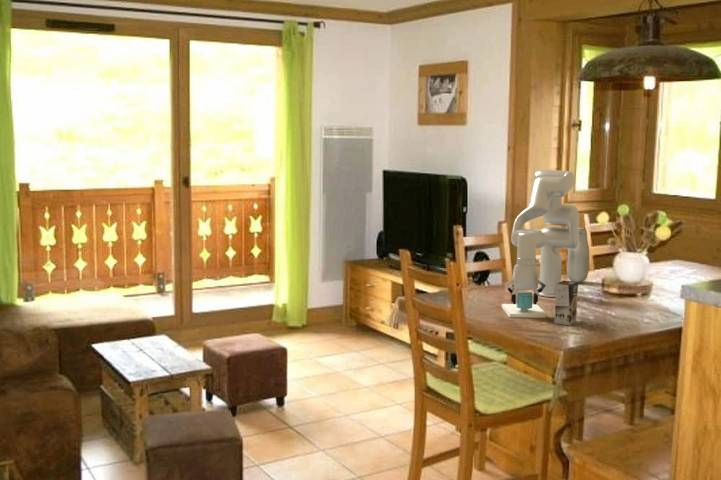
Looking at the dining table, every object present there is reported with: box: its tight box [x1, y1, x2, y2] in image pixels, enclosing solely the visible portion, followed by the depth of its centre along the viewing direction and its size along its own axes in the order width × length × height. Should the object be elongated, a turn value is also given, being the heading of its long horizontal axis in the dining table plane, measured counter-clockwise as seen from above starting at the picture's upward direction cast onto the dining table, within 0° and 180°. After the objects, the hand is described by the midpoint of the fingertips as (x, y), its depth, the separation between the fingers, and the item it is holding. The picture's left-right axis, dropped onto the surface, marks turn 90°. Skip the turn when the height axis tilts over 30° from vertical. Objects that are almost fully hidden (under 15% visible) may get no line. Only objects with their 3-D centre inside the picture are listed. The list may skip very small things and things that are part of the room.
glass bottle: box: [566, 226, 590, 284], centre depth 390 cm, size 10×10×28 cm
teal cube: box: [516, 291, 533, 309], centre depth 323 cm, size 6×6×6 cm
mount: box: [501, 303, 547, 319], centre depth 327 cm, size 15×18×8 cm
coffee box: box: [554, 280, 579, 326], centre depth 310 cm, size 9×6×16 cm
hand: (524, 303), depth 323 cm, fingers open, 8 cm apart
